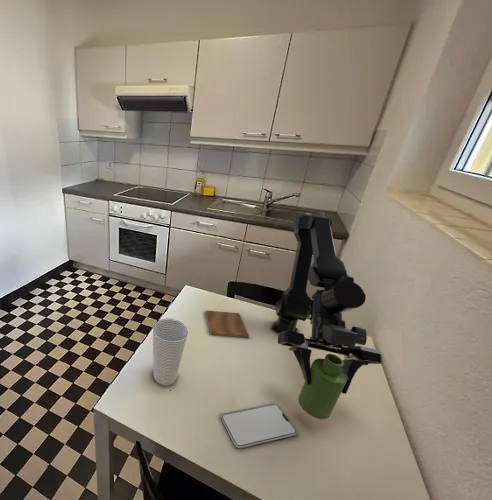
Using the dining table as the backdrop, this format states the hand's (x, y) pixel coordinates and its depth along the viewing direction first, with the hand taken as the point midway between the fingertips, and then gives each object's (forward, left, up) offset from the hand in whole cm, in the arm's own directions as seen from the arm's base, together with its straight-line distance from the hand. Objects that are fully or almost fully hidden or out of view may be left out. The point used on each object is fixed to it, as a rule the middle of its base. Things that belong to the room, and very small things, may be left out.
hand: (325, 388), depth 59 cm
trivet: (-17, -31, -11) cm, 37 cm away
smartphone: (+9, -8, -11) cm, 17 cm away
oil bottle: (-1, -1, -7) cm, 7 cm away
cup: (+14, -31, -11) cm, 36 cm away
